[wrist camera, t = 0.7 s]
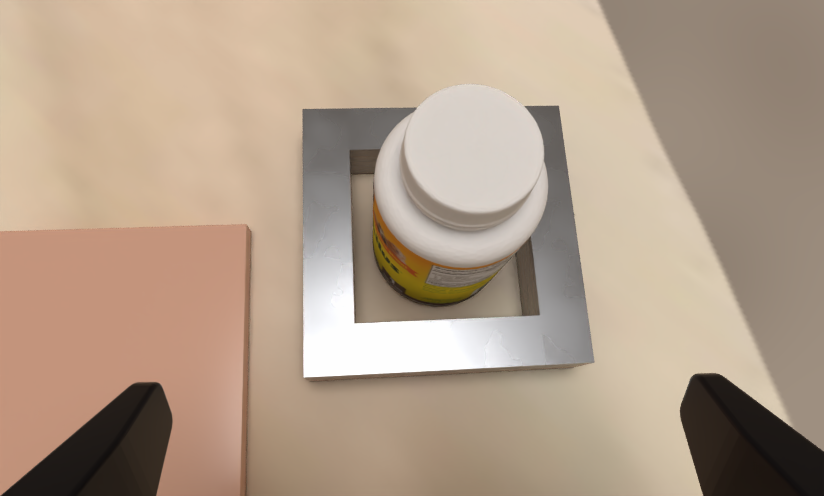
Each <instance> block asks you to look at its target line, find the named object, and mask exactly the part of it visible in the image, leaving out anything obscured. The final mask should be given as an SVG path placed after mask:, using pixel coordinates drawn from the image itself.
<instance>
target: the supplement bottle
mask: <svg viewBox="0 0 824 496" xmlns="http://www.w3.org/2000/svg"><path fill="white" fill-rule="evenodd" d="M373 189H374V195H373V248H374V254H375V259H376V262H377V265H378V267H379V269H380V271H381V273H382V275H383V276H384V278H385V279H386V280H387V282H388V283H389V284H390V285H391V286H392V287H393V288H394V289H395V290H396V291H397V292H399V293H400V294H401V295H403V296H405V297H406V298H408V299H410V300H412V301H415V302H418V303H421V304H425V305H431V306H445V305H451V304H456V303H459V302H462V301H464V300H466V299H468V298H470V297H472V296H474V295H475V294H476V293H478V292H479V291H480V290H481V289H482V288H483V287H484V286H485V285H486V284H487V283H488V282H489V281H490V280H491V279H492V278H493V277H494V276H495V275H496V274H497V273H498V271H499V270H500V269H501V268H502V267H503V266H504V265H505V264H506V263H507V262H508V261H509V259H510V258H511V257H512V256H513V255H514V254H515V253H516V252H517V251H518V250H519V249H520V248H521V246H522V245H523V244H524V243H525V242H526V241H527V240H528V239H529V237H530V236H531V235H532V233H533V232H534V230H535V229H536V227H537V226H538V224H539V222H540V220H541V218H542V215H543V212H544V210H545V207H546V202H547V195H548V177H547V170H546V166H545V163H544V145H543V139H542V135H541V132H540V130H539V127H538V125H537V123H536V121H535V119H534V118H533V116H532V115H531V114H530V113H529V111H528V110H527V109H526V108H525V107H524V106H523V105H522V104H521V103H520V102H519V101H517V100H516V99H515V98H513V97H512V96H510V95H508V94H507V93H505V92H503V91H501V90H498V89H496V88H493V87H489V86H485V85H479V84H460V85H455V86H450V87H447V88H444V89H442V90H440V91H438V92H436V93H434V94H432V95H431V96H429V97H428V98H427V99H425V100H424V101H423V102H422V103H421V104H420V105H419V106H418V107H417V109H416V110H415V111H414V112H413V113H411V114H410V115H408V116H407V117H405V118H404V119H403V120H402V121H401V122H400V123H398V124H397V125H396V126H395V128H394V129H393V130H392V131H391V132H390V134H389V135H388V136H387V138H386V140H385V141H384V143H383V145H382V147H381V149H380V152H379V155H378V158H377V161H376V166H375V173H374V182H373Z"/></svg>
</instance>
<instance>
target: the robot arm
mask: <svg viewBox="0 0 824 496" xmlns="http://www.w3.org/2000/svg"><path fill="white" fill-rule="evenodd" d="M680 417H681V422H682V425H683V428H684V432H685V435H686V439H687V442H688V445H689V449H690V452H691V456H692V459H693V463H694V466H695V469H696V473H697V476H698V480H699V483H700V486H701V490H702V493H703V496H824V451H822V450H821V449H820V448H818V447H817V446H816V445H814V444H813V443H812V442H810V441H809V440H808V439H806V438H805V437H804V436H802V435H801V434H800V433H798V432H797V431H796V430H794V429H793V428H792V427H790V426H789V425H788V424H786V423H785V422H784V421H782V420H781V419H780V418H778V417H777V416H776V415H774V414H773V413H772V412H770V411H769V410H768V409H766V408H765V407H764V406H762V405H761V404H760V403H758V402H757V401H756V400H754V399H753V398H752V397H750V396H749V395H748V394H746V393H745V392H744V391H742V390H741V389H740V388H738V387H737V386H736V385H734V384H733V383H732V382H730V381H729V380H728V379H726V378H725V377H723V376H722V375H720V374H716V373H700V374H694V375H693V376H692V377H691V379H690V381H689V384H688V387H687V390H686V392H685V395H684V398H683V401H682V403H681V407H680ZM172 424H173V418H172V412H171V409H170V407H169V404H168V401H167V398H166V395H165V392H164V390H163V387H162V385H161V384H160V383H158V382H136V383H133V384H132V385H130V386H129V387H128V388H127V389H125V390H124V391H123V392H122V393H121V394H119V395H118V396H117V397H116V398H115V399H114V400H112V401H111V402H110V403H109V404H108V405H106V406H105V407H104V408H103V409H102V410H101V411H99V412H98V413H97V414H96V415H95V416H94V417H92V418H91V419H90V420H89V421H88V422H86V423H85V424H84V425H83V426H82V427H81V428H79V429H78V430H77V431H76V432H75V433H73V434H72V435H71V436H70V437H69V438H68V439H66V440H65V441H64V442H63V443H62V444H61V445H59V446H58V447H57V448H56V449H55V450H53V451H52V452H51V453H50V454H49V455H48V456H46V457H45V458H44V459H43V460H42V461H40V462H39V463H38V464H37V465H36V466H35V467H33V468H32V469H31V470H30V471H29V472H28V473H26V474H25V475H24V476H23V477H22V478H20V479H19V480H18V481H17V482H16V483H15V484H13V485H12V486H11V487H10V488H9V489H8V490H6V491H5V492H4V493H3V494H2V495H0V496H156V495H157V490H158V486H159V482H160V478H161V473H162V469H163V465H164V460H165V456H166V452H167V447H168V443H169V439H170V435H171V430H172Z"/></svg>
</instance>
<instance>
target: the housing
mask: <svg viewBox="0 0 824 496" xmlns="http://www.w3.org/2000/svg"><path fill="white" fill-rule="evenodd" d="M524 107H525V108H526V109H527V110H528V111H529V113H530V114H531V115H532V116H533V118H534V119H535V121H536V123H537V125H538V127H539V130H540V132H541V135H542V139H543V145H544V163H545V166H546V170H547V177H548V195H547V202H546V207H545V210H544V212H543V215H542V218H541V220H540V222H539V224H538V226H537V227H536V229H535V230H534V232H533V233H532V235H531V236H530V237H529V239H528V240H527V241H526V242H525V243H524V244H523V245H522V246H521V248H520V249H519V250H518V251H517V252H516V258H517V267H518V276H519V286H520V295H521V304H522V313H523V316H515V317H492V318H470V319H447V320H424V321H402V322H379V323H356V324H355V292H354V257H353V223H352V188H351V174H372V173H375V166H376V161H377V158H378V155H379V152H380V149H381V147H382V145H383V143H384V141H385V140H386V138H387V136H388V135H389V134H390V132H391V131H392V130H393V129H394V128H395V126H396V125H397V124H398V123H400V122H401V121H402V120H403V119H404V118H405V117H407V116H408V115H410V114H411V113H413V112H414V111H415V110H416V109H417V108H353V109H303V318H304V378H305V379H307V380H309V381H328V380H347V379H366V378H386V377H405V376H424V375H443V374H462V373H482V372H501V371H520V370H539V369H558V368H574V367H578V366H582V365H586V364H590V363H594V356H593V349H592V341H591V334H590V327H589V320H588V313H587V306H586V298H585V291H584V284H583V277H582V270H581V262H580V255H579V248H578V241H577V234H576V226H575V219H574V212H573V205H572V198H571V190H570V183H569V176H568V169H567V162H566V155H565V147H564V140H563V133H562V126H561V119H560V111H559V106H524Z"/></svg>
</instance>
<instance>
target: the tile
mask: <svg viewBox="0 0 824 496" xmlns="http://www.w3.org/2000/svg"><path fill="white" fill-rule="evenodd" d="M250 258H251V231H250V229H249V228H248V226H247V224H240V225H206V226H172V227H138V228H104V229H70V230H36V231H2V232H0V495H2V494H3V493H4V492H5V491H6V490H8V489H9V488H10V487H11V486H12V485H13V484H15V483H16V482H17V481H18V480H19V479H20V478H22V477H23V476H24V475H25V474H26V473H28V472H29V471H30V470H31V469H32V468H33V467H35V466H36V465H37V464H38V463H39V462H40V461H42V460H43V459H44V458H45V457H46V456H48V455H49V454H50V453H51V452H52V451H53V450H55V449H56V448H57V447H58V446H59V445H61V444H62V443H63V442H64V441H65V440H66V439H68V438H69V437H70V436H71V435H72V434H73V433H75V432H76V431H77V430H78V429H79V428H81V427H82V426H83V425H84V424H85V423H86V422H88V421H89V420H90V419H91V418H92V417H94V416H95V415H96V414H97V413H98V412H99V411H101V410H102V409H103V408H104V407H105V406H106V405H108V404H109V403H110V402H111V401H112V400H114V399H115V398H116V397H117V396H118V395H119V394H121V393H122V392H123V391H124V390H125V389H127V388H128V387H129V386H130V385H132V384H133V383H136V382H158V383H160V384H161V385H162V387H163V390H164V392H165V395H166V398H167V401H168V404H169V407H170V409H171V412H172V418H173V424H172V430H171V435H170V439H169V443H168V447H167V452H166V456H165V460H164V465H163V469H162V473H161V478H160V482H159V486H158V490H157V495H156V496H245V492H246V445H247V398H248V352H249V305H250Z"/></svg>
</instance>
